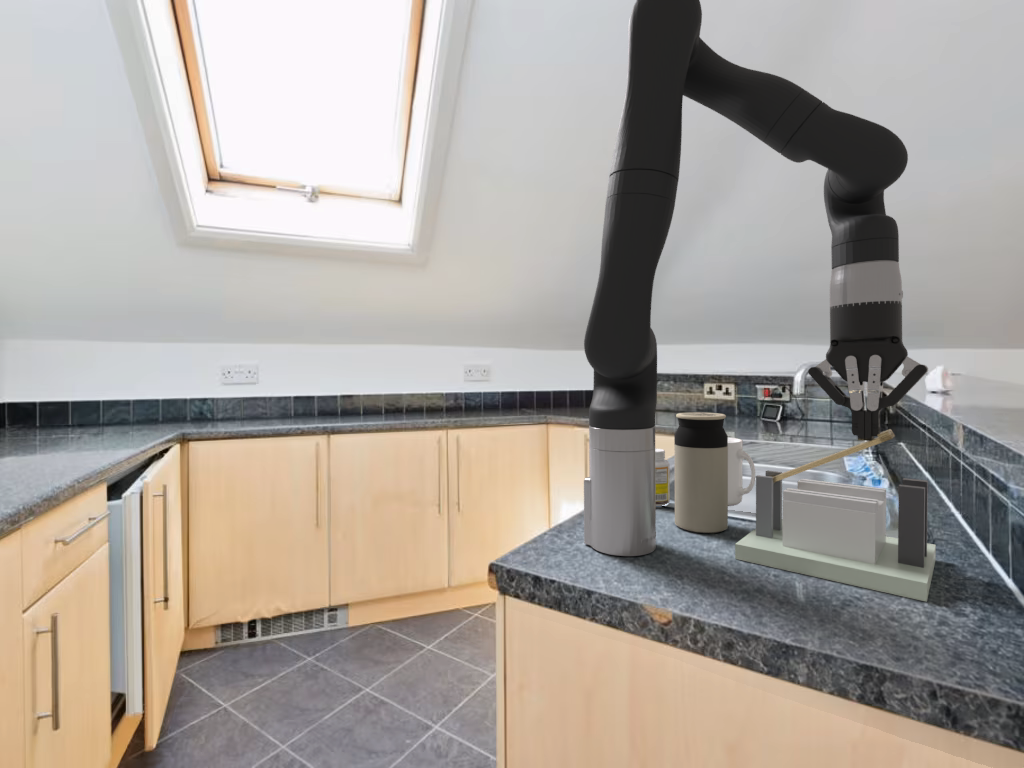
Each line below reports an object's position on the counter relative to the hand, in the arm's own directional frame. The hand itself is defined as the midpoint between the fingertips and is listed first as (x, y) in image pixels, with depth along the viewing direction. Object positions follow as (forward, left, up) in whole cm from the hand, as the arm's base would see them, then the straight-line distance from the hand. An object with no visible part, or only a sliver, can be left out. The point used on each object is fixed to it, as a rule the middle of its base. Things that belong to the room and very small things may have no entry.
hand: (866, 439), depth 66 cm
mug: (-25, +21, -16) cm, 37 cm away
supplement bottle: (-34, +11, -16) cm, 40 cm away
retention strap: (-4, 0, -4) cm, 6 cm away
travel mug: (-22, +3, -16) cm, 28 cm away
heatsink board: (-3, 0, -16) cm, 16 cm away
